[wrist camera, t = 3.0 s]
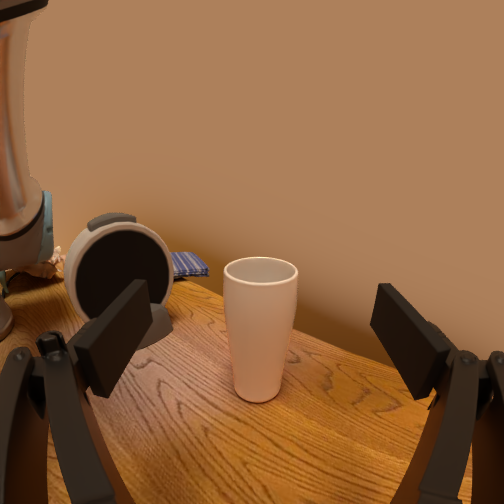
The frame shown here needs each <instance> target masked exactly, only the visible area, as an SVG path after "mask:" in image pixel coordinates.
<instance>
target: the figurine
mask: <svg viewBox="0 0 504 504" xmlns="http://www.w3.org/2000/svg"><path fill="white" fill-rule="evenodd" d="M60 251H61V249H60V247H59V246H58V247H57V248H55V249H54V254H53V256H52V257H51V258H50V259H49V260H51V261H50V262H51V263H52V264H54V263H55V260H56V258H57V257H58V260H59V262H60V259H59V255H58V254H59V253H60ZM53 257H54V259H53ZM52 259H53V260H52Z"/></svg>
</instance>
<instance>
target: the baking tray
mask: <svg viewBox="0 0 504 504" xmlns="http://www.w3.org/2000/svg"><path fill="white" fill-rule="evenodd" d="M12 270H14V271H17V272H20V273H21V272H22V271H24V272H27V273H29V274H30V275H31V276H35V277H41V278H45V279H47V278H49V279H50V278H51V277H52V276H53V275H54V274H55V273H56V272H57V271H60V272H61V270H59V269H58V270H57V269H56V267H55V266H54V265H53V264H51V263H50V262H49V261H48V260H47V261H43V262H39V263H38V264H36V265H34V264H32V265H27V266H22V267H17V268H13V269H12Z"/></svg>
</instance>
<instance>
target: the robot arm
mask: <svg viewBox="0 0 504 504" xmlns="http://www.w3.org/2000/svg"><path fill="white" fill-rule="evenodd" d="M47 4H48V0H0V271H4V270H8V269H13V268H17V267H22V266H27V265H32V264H34V265H36V264H38V263H39V262H43V261H47V260H49V259H50V258H51V257H52V256H53V253H54V242H53V222H52V221H53V220H52V195H51V193H50V192H49V191H42V190H41V187H40V185H39V183H38V182H37V181H36V180H35V179H34V178H33V177H31V176H30V173H29V166H28V159H27V150H26V140H25V127H24V126H25V125H24V72H25V59H26V49H27V41H28V34H29V28H30V24H31V22H32V21H33V20H34V19H35V18H36V17H37V16H38V15H39V14H40V13H42V12H43V11H44V10H45V9H46V8H47ZM22 272H24V271H22ZM22 272H21V273H22ZM21 273H20V272H17V273H15V274H14V275H13V276H12V277H11V278H10V279H9V280H8V281H7V282H6V286H8V284H9V283H10V282H11V281H12V280H13V279H14V278H15V277H16V276H17V275H19V274H21ZM4 293H5V290H4V288H3V289H2V295H1V294H0V341H1V340H2V339H3V338H5V337H6V336H7V334H8V333H9V332H10V331H11V329H12V327H13V325H14V317H13V314H12V311H11V309H10V307H9V306H8V305H7V303H6V302H5V301H4V299H3V298H4ZM152 323H153V318H152V312H151V306H150V299H149V293H148V286H147V280H139V279H135V280H134V281H133V282H132V283H131V284H130V285H129V286H128V287H127V288H126V289H125V290H124V291H123V292H122V293H121V294H120V295H119V296H118V297H117V298H116V299H115V300H114V301H113V302H112V303H111V304H110V305H109V306H108V307H107V308H106V310H105V311H104V312H103V313H102V314H101V315H100V316H99V317H98V318H93V319H91V320H90V321H88V322H86V323H85V324H84V325H83V327H82V328H81V329H80V330H79V331H78V332H77V334H75V335H74V336H73V337H72V338H71V339H70V341H69V342H68V343H67V344H66V343H65V341H64V338H63V335H62V333H61V332H59V331H54V330H53V331H47V332H45V333H43V334H41V335H39V337H38V338H37V339H36V345H37V347H38V350H39V352H40V354H41V357H33V356H32V354H31V352H30V350H29V348H27V347H17V348H15V349H13V350H12V351H11V352H10V353H9V355H8V357H7V359H6V362H5V364H4V366H3V369H2V372H1V374H0V504H48V491H47V443H48V428H49V422H50V428H51V433H52V438H53V442H54V447H55V451H56V455H57V459H58V462H59V466H60V469H61V473H62V476H63V479H64V482H65V485H66V488H67V491H68V494H69V497H70V499H71V503H72V504H136V503H135V502H134V500H133V498H132V497H131V495H130V493H129V491H128V489H127V488H126V486H125V484H124V482H123V480H122V478H121V476H120V474H119V472H118V470H117V468H116V466H115V464H114V462H113V460H112V457H111V455H110V453H109V451H108V448H107V446H106V444H105V441H104V439H103V436H102V434H101V431H100V429H99V426H98V423H97V421H96V418H95V415H94V412H93V409H92V406H91V403H90V400H89V397H88V395H87V393H86V390H87V389H88V387H89V385H90V388H91V390H92V392H93V394H94V395H97V396H100V397H104V398H109V396H110V394H111V392H112V391H113V389H114V387H115V385H116V384H117V382H118V380H119V378H120V377H121V375H122V373H123V371H124V370H125V368H126V366H127V364H128V363H129V361H130V359H131V358H132V356H133V354H134V353H135V351H136V349H137V348H138V346H139V344H140V343H141V341H142V339H143V338H144V336H145V334H146V333H147V331H148V329H149V328H150V326H151V325H152ZM370 326H371V327H372V329H373V330H374V332H375V333H376V335H377V337H378V338H379V340H380V342H381V343H382V345H383V347H384V348H385V350H386V351H387V353H388V355H389V356H390V358H391V360H392V361H393V363H394V365H395V367H396V368H397V370H398V372H399V373H400V375H401V377H402V379H403V380H404V382H405V384H406V386H407V387H408V389H409V391H410V393H411V395H412V396H413V398H414V400H419V399H423V398H426V397H428V396H429V394H430V392H431V391H432V389H433V387H434V389H435V391H436V392H437V393H436V395H435V397H434V398H433V400H432V402H431V404H430V405H429V407H428V409H427V410H430V412H429V415H428V418H427V421H426V424H425V427H424V430H423V433H422V435H421V438H420V441H419V443H418V446H417V448H416V451H415V453H414V455H413V458H412V460H411V462H410V465H409V467H408V469H407V471H406V473H405V475H404V478H403V480H402V482H401V484H400V486H399V487H398V489H397V491H396V493H395V495H394V497H393V499H392V501H391V502H390V504H462V500H459V499H458V497H457V496H458V492H459V489H460V486H461V483H462V479H463V476H464V472H465V468H466V465H467V460H468V456H469V452H470V447H471V442H472V466H473V470H472V496H471V504H504V353H503V352H500V351H493V352H492V353H491V355H490V357H489V359H488V360H479V359H478V357H477V356H476V355H475V354H473V353H471V352H469V351H465V350H462V351H459V350H458V349H457V348H456V347H455V345H454V344H453V343H452V342H451V341H450V340H449V339H448V338H447V337H446V335H445V334H444V333H442V331H441V330H440V329H439V328H438V327H437V326H436V325H434V324H432V323H431V322H429V321H428V322H427V321H426V320H425V319H424V318H423V317H422V316H421V315H420V314H419V313H418V312H417V310H416V309H415V308H414V307H413V306H412V305H411V304H410V303H409V302H408V301H407V300H406V299H405V298H404V297H403V296H402V295H401V294H400V293H399V292H398V291H397V290H396V289H395V288H394V287H393V286H392V285H391V284H390V283H380V284H379V285H378V290H377V295H376V300H375V304H374V309H373V313H372V318H371V323H370ZM492 396H493V399H492ZM430 408H431V409H430Z"/></svg>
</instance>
